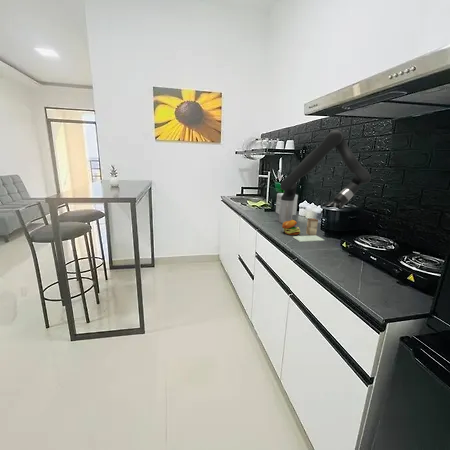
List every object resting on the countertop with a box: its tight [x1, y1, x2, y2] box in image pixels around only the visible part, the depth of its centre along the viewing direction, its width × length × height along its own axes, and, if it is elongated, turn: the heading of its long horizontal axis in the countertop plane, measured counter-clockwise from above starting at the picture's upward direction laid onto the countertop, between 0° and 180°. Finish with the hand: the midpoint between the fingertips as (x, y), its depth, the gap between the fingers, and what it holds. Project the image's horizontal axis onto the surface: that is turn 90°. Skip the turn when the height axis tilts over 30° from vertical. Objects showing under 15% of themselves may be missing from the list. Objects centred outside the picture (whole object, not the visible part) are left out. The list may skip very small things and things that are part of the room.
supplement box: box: [275, 192, 299, 216], centre depth 219 cm, size 13×13×18 cm
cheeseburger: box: [281, 219, 301, 236], centre depth 160 cm, size 10×11×10 cm
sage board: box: [292, 234, 325, 243], centre depth 151 cm, size 16×9×1 cm, turn 103°
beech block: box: [305, 217, 319, 236], centre depth 160 cm, size 4×4×10 cm
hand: (325, 215), depth 160 cm, fingers open, 8 cm apart
